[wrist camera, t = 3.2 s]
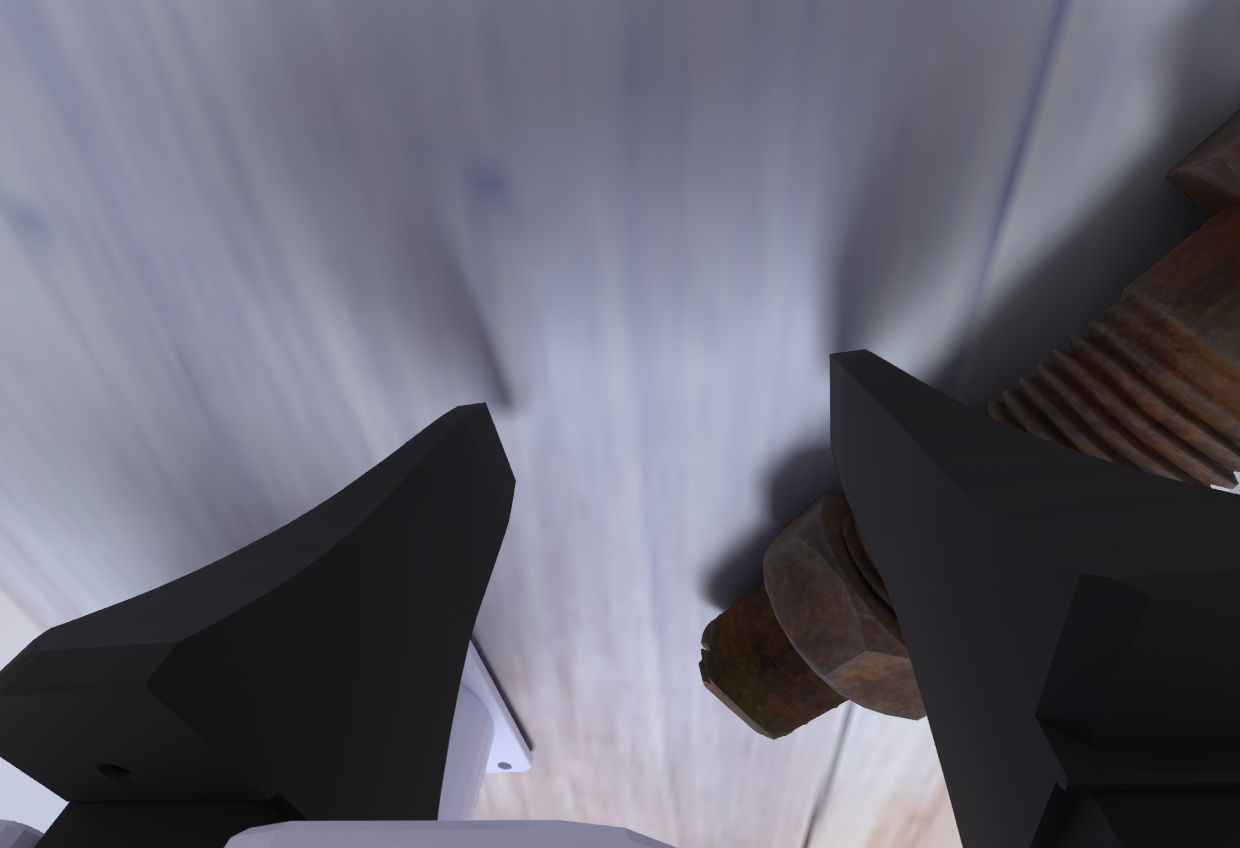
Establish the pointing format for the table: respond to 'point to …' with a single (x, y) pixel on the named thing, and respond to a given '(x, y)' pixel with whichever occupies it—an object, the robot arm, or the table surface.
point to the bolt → (1045, 407)
